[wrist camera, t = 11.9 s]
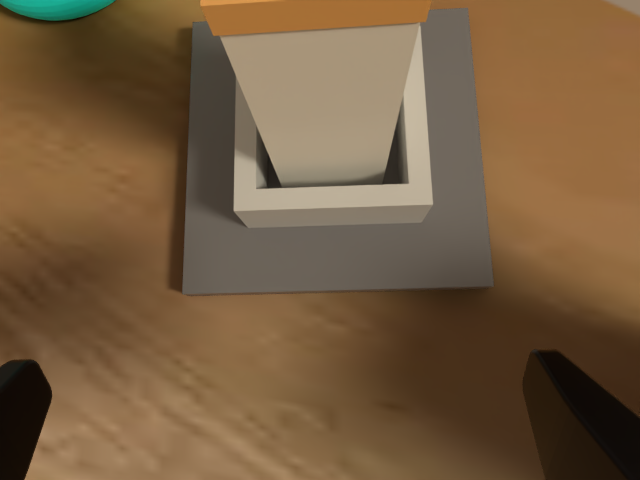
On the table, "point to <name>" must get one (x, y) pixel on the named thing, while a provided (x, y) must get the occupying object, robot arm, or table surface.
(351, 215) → the socket
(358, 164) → the plug
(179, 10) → the table surface
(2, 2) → the donuts
